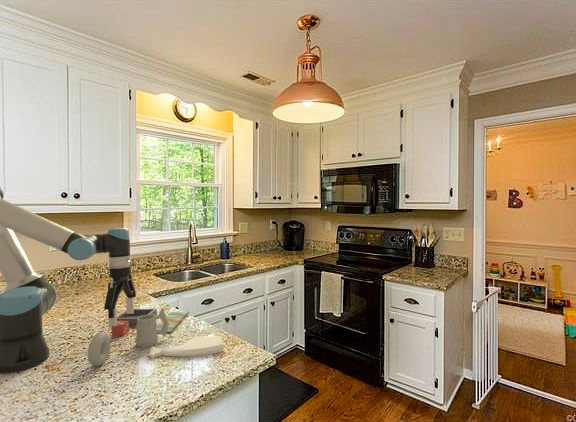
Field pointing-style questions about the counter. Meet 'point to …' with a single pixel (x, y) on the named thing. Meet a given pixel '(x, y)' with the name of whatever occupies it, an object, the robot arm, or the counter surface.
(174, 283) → the counter surface
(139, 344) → the mug
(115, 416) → the counter surface
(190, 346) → the beige tapered paddle
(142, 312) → the tray
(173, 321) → the board
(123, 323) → the die
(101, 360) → the donut
